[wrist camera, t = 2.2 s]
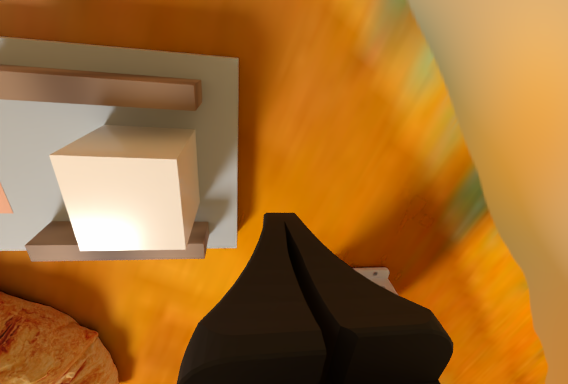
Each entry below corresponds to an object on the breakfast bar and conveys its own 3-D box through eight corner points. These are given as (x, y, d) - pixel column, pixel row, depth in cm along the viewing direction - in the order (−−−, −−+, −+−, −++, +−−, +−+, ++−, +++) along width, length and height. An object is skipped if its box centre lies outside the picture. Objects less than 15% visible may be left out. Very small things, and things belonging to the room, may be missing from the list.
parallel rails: (201, 79, 15) (193, 85, 13) (209, 235, 20) (204, 258, 18) (-6, 63, 14) (-55, 67, 11) (56, 236, 18) (31, 261, 16)
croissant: (153, 346, 33) (165, 401, 27) (73, 418, 30) (65, 501, 23) (-16, 223, 23) (-64, 265, 16) (-165, 314, 20) (-298, 411, 13)
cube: (195, 129, 16) (176, 159, 12) (199, 201, 19) (185, 249, 14) (104, 124, 16) (48, 154, 11) (120, 200, 18) (80, 250, 13)
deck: (238, 57, 17) (238, 59, 15) (237, 232, 23) (236, 248, 21) (-384, 1, 12) (-488, -7, 11) (-184, 233, 18) (-230, 253, 17)
